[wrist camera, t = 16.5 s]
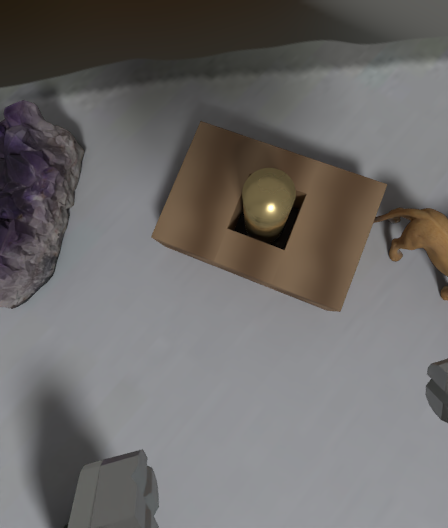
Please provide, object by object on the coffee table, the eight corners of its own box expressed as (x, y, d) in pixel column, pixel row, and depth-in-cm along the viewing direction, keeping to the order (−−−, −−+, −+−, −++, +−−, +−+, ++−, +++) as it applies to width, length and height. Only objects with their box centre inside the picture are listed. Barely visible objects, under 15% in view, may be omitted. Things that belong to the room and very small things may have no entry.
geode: (73, 316, 36) (-11, 323, 26) (-14, 302, 38) (-119, 303, 29) (102, 134, 37) (32, 76, 27) (16, 132, 40) (-75, 79, 30)
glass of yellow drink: (239, 235, 35) (234, 208, 25) (253, 201, 35) (253, 160, 25) (275, 249, 35) (284, 226, 25) (288, 214, 35) (303, 178, 25)
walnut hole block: (165, 246, 36) (151, 237, 31) (207, 145, 37) (200, 121, 32) (327, 310, 33) (340, 311, 28) (367, 201, 34) (387, 184, 29)
